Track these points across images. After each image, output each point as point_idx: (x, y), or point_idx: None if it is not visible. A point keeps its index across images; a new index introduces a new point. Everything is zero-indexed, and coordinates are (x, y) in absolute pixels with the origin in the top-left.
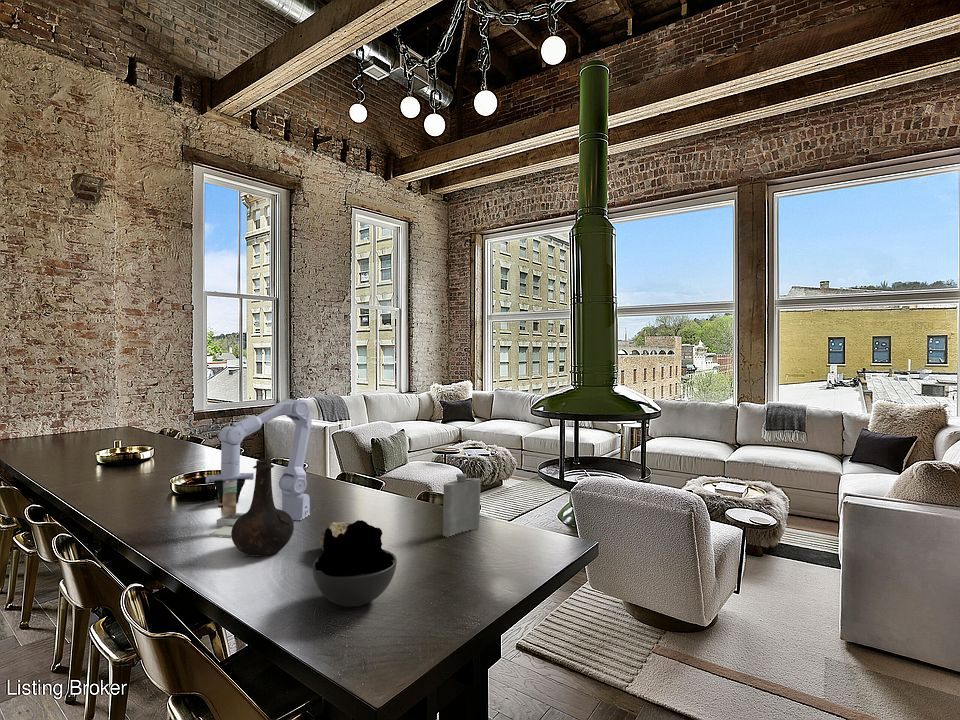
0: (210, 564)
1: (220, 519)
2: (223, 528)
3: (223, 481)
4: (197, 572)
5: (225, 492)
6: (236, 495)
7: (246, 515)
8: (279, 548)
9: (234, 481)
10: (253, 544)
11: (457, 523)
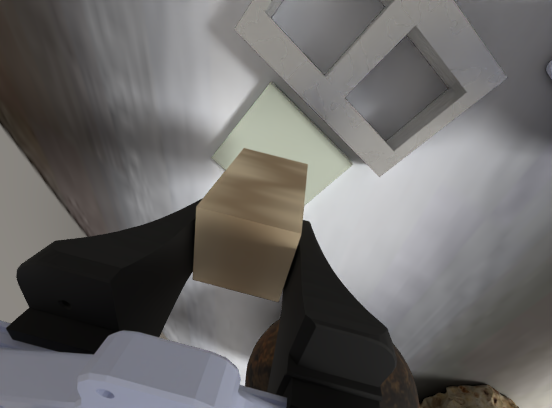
0: (219, 331)
1: (253, 33)
2: (264, 119)
3: (126, 274)
4: (199, 346)
5: (210, 219)
6: (283, 292)
7: None
8: None
9: None
10: None
11: None
